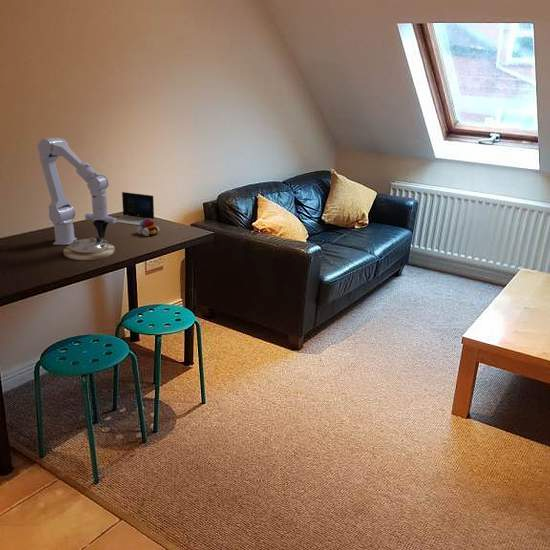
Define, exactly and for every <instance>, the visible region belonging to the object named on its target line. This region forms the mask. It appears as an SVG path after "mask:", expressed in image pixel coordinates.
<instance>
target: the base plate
mask: <svg viewBox="0 0 550 550" xmlns="http://www.w3.org/2000/svg"><path fill="white" fill-rule="evenodd" d="M115 252H116V249H115V246H114V245H113V244H111V243H108V249H107V250H106V251H104V252H101V253H96V254H77V253H73V252H71V251H70V246H69V245H68V246H67V245H66V247H64V249H63V255H64V257H65V258H67V259H70V260H76V261H94V260H95V261H96V260H102V259H106V258H108V257H111V256H112V255H114V254H115Z"/></svg>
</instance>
